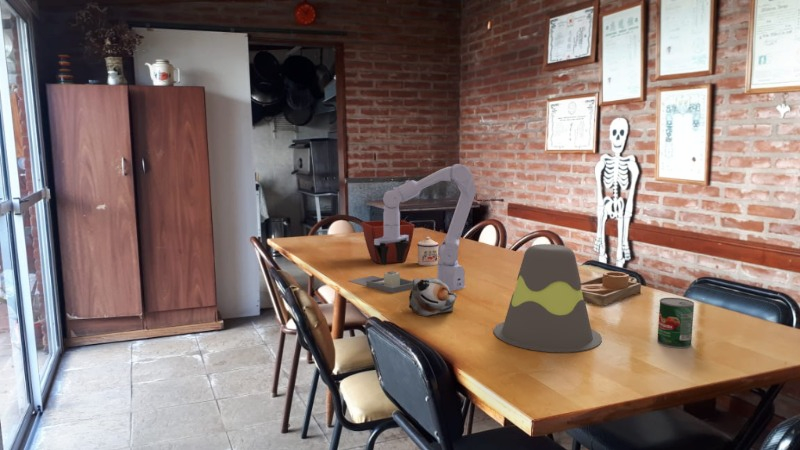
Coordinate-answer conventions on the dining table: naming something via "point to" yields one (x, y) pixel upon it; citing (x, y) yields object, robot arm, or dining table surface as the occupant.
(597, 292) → the brown cup and saucer
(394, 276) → the block
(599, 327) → the dining table surface
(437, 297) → the grey lumpy rounded piece
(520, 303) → the grey brimmed hat
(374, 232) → the plant pot
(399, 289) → the case
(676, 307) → the canned tomato
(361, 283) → the lid panel
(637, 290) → the fitting cradle
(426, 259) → the teacup with lid
